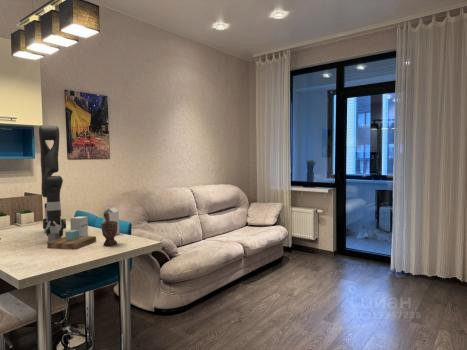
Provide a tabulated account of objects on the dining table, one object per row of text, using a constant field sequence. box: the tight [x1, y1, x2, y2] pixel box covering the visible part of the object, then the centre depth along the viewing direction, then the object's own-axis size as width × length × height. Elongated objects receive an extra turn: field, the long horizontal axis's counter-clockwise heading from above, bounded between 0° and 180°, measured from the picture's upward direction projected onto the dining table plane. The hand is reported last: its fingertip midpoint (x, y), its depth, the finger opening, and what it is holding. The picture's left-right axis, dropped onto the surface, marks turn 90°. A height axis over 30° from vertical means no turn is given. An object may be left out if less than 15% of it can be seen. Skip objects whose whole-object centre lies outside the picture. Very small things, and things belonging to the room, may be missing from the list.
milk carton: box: [102, 204, 120, 236], centre depth 215 cm, size 7×7×19 cm
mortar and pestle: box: [100, 211, 118, 247], centre depth 187 cm, size 12×9×20 cm
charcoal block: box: [47, 232, 63, 243], centre depth 199 cm, size 5×5×5 cm
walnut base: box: [46, 235, 97, 250], centre depth 191 cm, size 18×18×3 cm
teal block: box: [64, 229, 79, 241], centre depth 190 cm, size 5×5×5 cm
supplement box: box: [69, 215, 89, 236], centre depth 210 cm, size 7×7×13 cm
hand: (54, 236), depth 198 cm, fingers open, 8 cm apart
